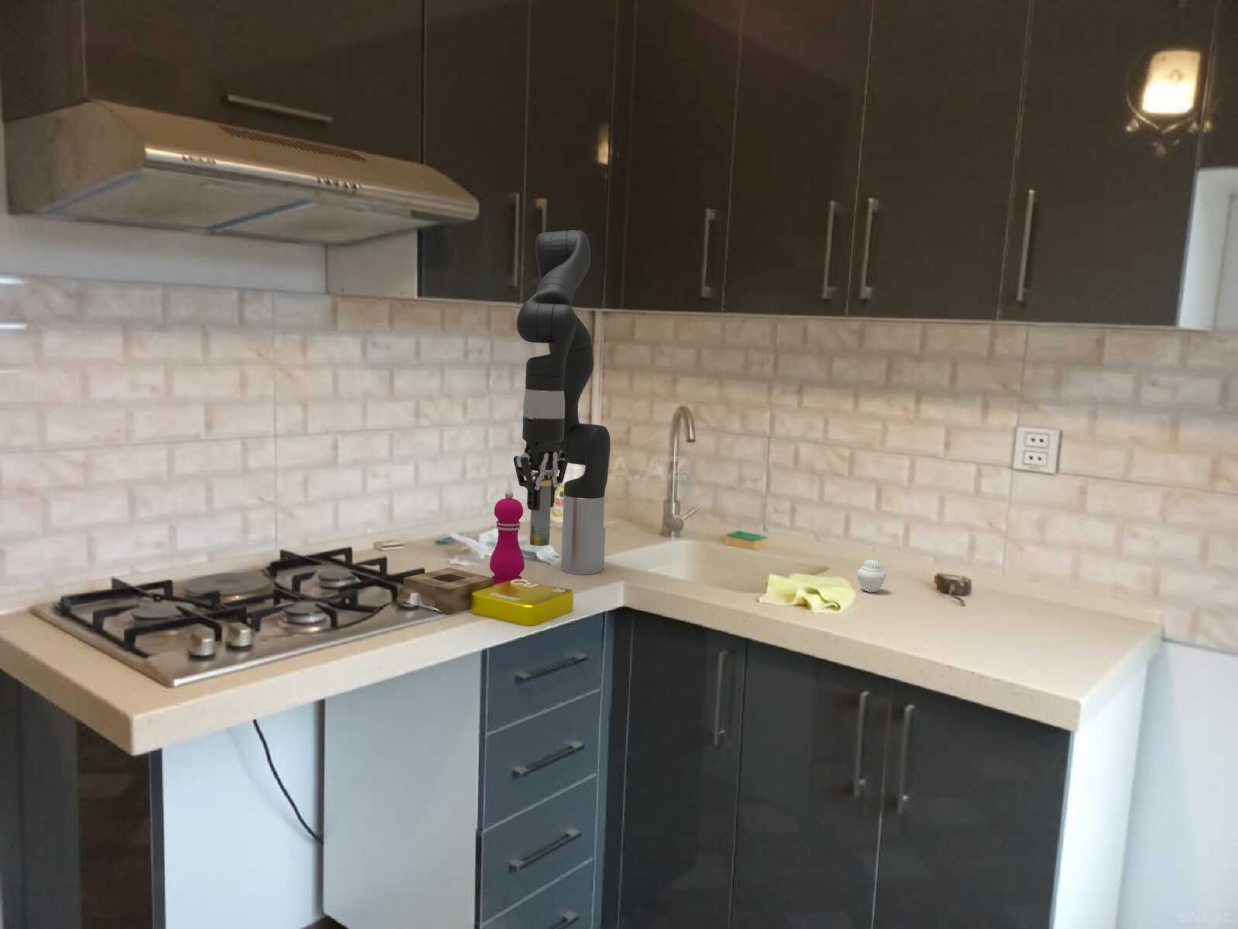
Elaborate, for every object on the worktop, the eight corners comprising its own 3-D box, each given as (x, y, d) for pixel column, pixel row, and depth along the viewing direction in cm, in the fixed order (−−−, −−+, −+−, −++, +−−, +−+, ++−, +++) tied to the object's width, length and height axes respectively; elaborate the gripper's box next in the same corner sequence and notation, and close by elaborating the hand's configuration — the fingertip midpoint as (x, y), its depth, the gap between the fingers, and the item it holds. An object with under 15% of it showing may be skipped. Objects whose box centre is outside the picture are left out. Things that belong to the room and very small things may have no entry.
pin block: (448, 591, 190) (448, 567, 189) (492, 603, 183) (493, 577, 183) (403, 603, 180) (403, 578, 179) (448, 616, 173) (448, 589, 173)
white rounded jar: (879, 587, 210) (881, 556, 209) (888, 594, 203) (891, 562, 203) (851, 586, 209) (854, 555, 208) (860, 593, 203) (863, 562, 202)
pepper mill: (482, 586, 195) (484, 490, 193) (502, 579, 202) (504, 487, 199) (511, 591, 192) (514, 494, 190) (530, 584, 198) (533, 490, 196)
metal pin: (538, 541, 176) (540, 477, 175) (553, 543, 174) (555, 479, 173) (525, 543, 174) (527, 479, 172) (540, 546, 172) (543, 481, 170)
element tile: (465, 615, 176) (466, 590, 175) (514, 598, 188) (515, 575, 188) (530, 630, 168) (531, 604, 168) (577, 612, 181) (578, 588, 180)
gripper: (552, 412, 179) (548, 501, 181) (502, 414, 167) (499, 510, 169) (583, 415, 175) (580, 506, 177) (534, 418, 163) (531, 516, 165)
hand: (540, 508), depth 173 cm, fingers closed on metal pin, 3 cm apart
